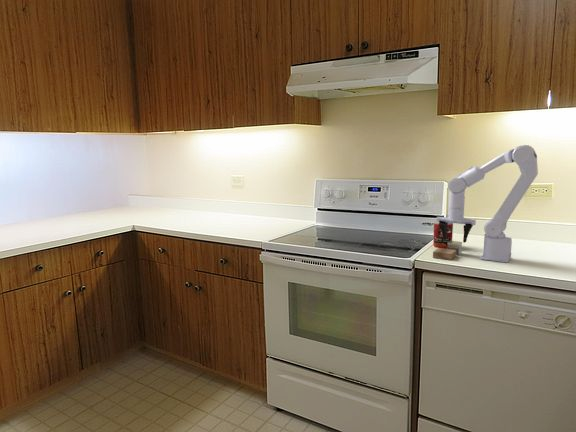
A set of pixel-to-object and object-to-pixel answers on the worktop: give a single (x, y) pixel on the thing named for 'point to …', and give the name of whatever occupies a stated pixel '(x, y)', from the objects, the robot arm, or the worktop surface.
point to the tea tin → (455, 246)
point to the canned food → (438, 235)
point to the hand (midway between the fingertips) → (454, 240)
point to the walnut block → (444, 253)
